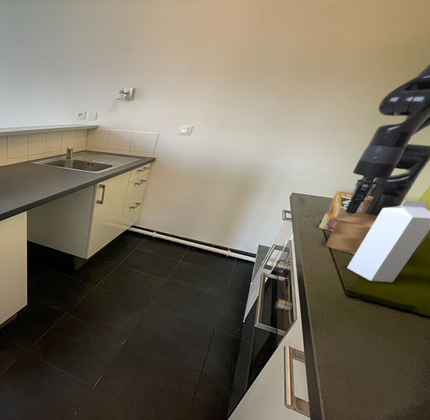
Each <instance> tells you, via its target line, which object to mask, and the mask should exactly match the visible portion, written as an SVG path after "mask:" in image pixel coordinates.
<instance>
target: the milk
mask: <svg viewBox="0 0 430 420" xmlns="http://www.w3.org/2000/svg"><path fill="white" fill-rule="evenodd" d="M428 205H429V201H423V200H422V201H421V200H403V202H402V203H401V205H400V206H397V207H388V208H383V209H382V210H381V212H380V214H379V215H378V217H377V219H376V220H375V222H374V224H373V225H372V227H371V229H370V230H369V232H368V234H367V235H366V237H365V239H364V240H363V242H362V244H361V245H360V247H359V249H358V250H357V252H356V254H355V255H354V254H353V257H352V258H351V260H350V261H349V263H348V266H347V267H346V268H347V270H350V271H352V272H353V273H355V274H357V275H358V276H360V277H362V278H365V279H366V280H368V281H370V282H381V283H382V282H383V283H393V282H394V281H395V280H396V278H397V277H398V276H399V274H400V273H401V272H402V270H403V268H404V267H405V266H406V264H407V263H408V261H409V260H410V259H411V257H412V256H413V254H414V253H415V252H416V250H417V248H418V247H419V245H420V244H421V243H422V241H423V240H424V238H426V235H427V234H428V233H429V231H430V210H429V209H428V208H427V206H428Z"/></svg>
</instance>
